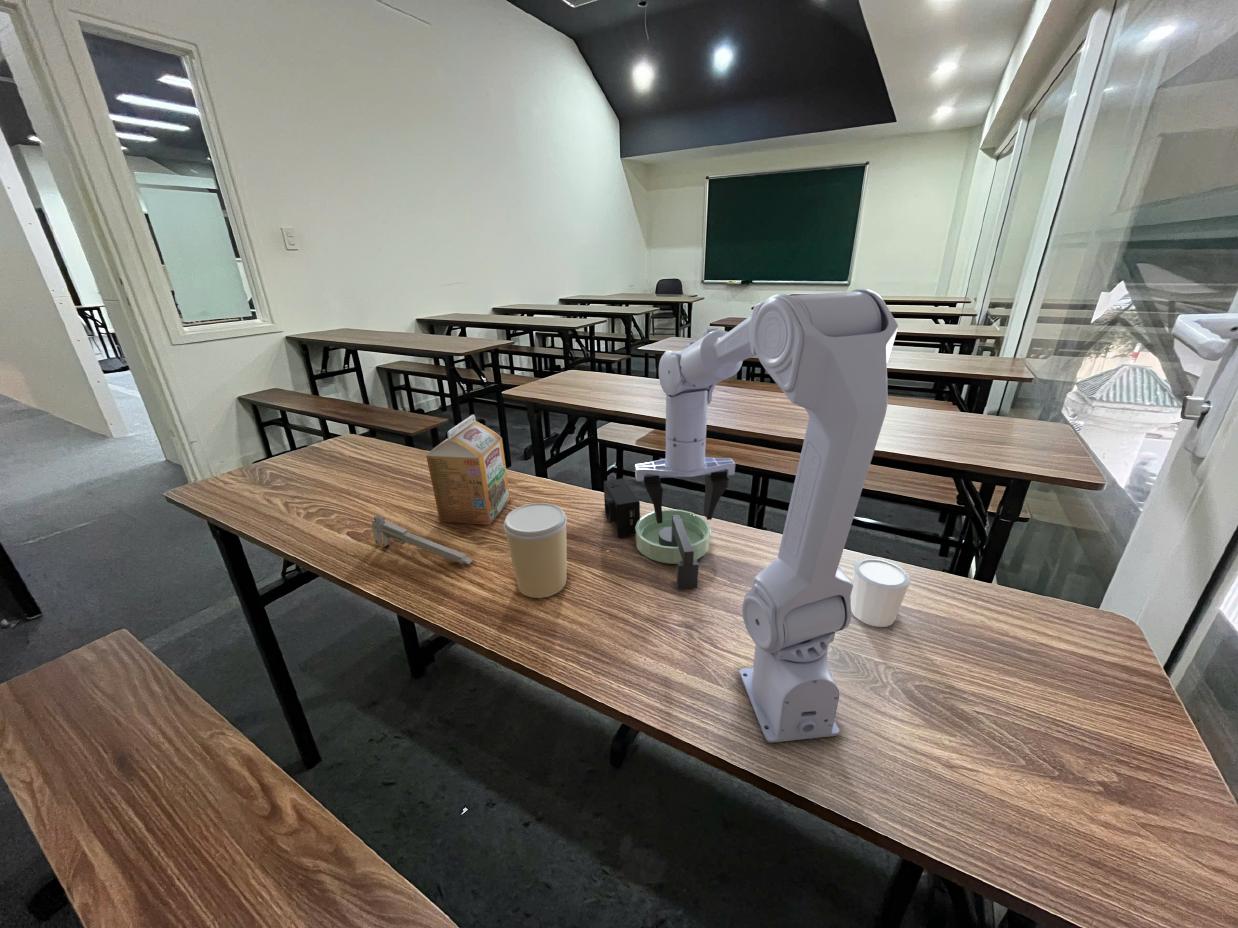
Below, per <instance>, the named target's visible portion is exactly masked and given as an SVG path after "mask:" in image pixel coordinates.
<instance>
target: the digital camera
mask: <svg viewBox="0 0 1238 928" xmlns="http://www.w3.org/2000/svg"><path fill="white" fill-rule="evenodd" d="M603 494H604V495H603V499H604V500H603V501H604V513H605V517H606V520H607V522H608V523H609V524H610V525H611V527H612V530H613V531H614V532H615V535H616V537H617V539H618V538H619V539H620V538H625V537H632V536H635V526H636V524H637V521H638V520H639V519H640V518H641V501H640V500H639V498H638V496H637V495H636V494H635V492H634V491H633V489H632V488H631V486H630V484H629V483H628V482H627V481H626V479H625V478H616V479H609V480H603Z"/></svg>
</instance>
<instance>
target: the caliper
mask: <svg viewBox="0 0 1238 928" xmlns="http://www.w3.org/2000/svg"><path fill="white" fill-rule="evenodd" d="M371 529H372V530H371V531H372V534H373V539H374V541H375V544H377V545H380V544H381V543H382V545H383V548H386V547H387V546H388V545H390V544H391V541H392V540H393V541H394V542H395V543H400V544H401V545H405V544H406V543H407V544H410V545H412V546H415V547H416V548H417V547H418V548H420V549H423V550H425V551H427V552H430V553H432V554H435V555H437V556H440V557H442V558H445V559H447V560H450V561H451V562H455V563H457V564H460V565H463V564H466V565H469V564H471V563H472V562H473V560H472V559H471V558H470V557H468V556H466V553H462V552H460V551H457V550H455V549H452V548H450V547H447V546H445V545H442V544H439V543H437V542H435V541H432V540H430V539H427V538H425V537H421V536H419V535H416V534H414V533H411V532H409V531H408V529H406V528H403V527H401V526H398V525H396V524H394V523H391V522H389V521H386V522H385V516H382V517H381V515H380V513H378V514H376V515H374V517H373V520H371Z"/></svg>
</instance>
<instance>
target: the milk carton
mask: <svg viewBox="0 0 1238 928" xmlns="http://www.w3.org/2000/svg"><path fill="white" fill-rule="evenodd" d="M446 433H447V438H446V439H445V440H443V441H442V442H440V443H439V444H438V445H436V446H435V447H433V448H432V449H431V450H430V451H429V452H428V453H427V454H426V456H425V458H426V462H427V467H428V472H429V476H430V481H431V486H432V490H433V491H432V492H433V495H434V496H433V497H434V500H435V506H436V510H437V515H438V521H439V522H442V523H461V524H472V525H485V526H486V525H487V526H490V525H491V524H492V523H493V521H495V519H496V518H497V517H498V515H499V514H500V513H501V512H502V510H504V508H505V507H506V506H507V504H508V503H509V502H510V501H511V495H510V487H509V481H508V480H509V479H508V473H507V466H506V459H505V451H504V443H503V438H502V437H501V436H500V435H499V434H498V433H497V432H495V431H494V430H493V429H490V428H489V427H488V426H486V425H484V424H483V423H480V422H479V421H478V420H476V415H475V414H471V415H470V416H468V417H466V418H465V419H464V420H462V421H461V422H459V423H458V424H457V425H455V426H454V427H452V428H451V429H449V430H448V431H447V432H446Z"/></svg>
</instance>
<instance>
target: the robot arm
mask: <svg viewBox="0 0 1238 928" xmlns="http://www.w3.org/2000/svg"><path fill="white" fill-rule="evenodd" d="M898 330H899V324H898V322H897V320H896V319H895V317H894V316H893V314H892V312H891V311H890V308H889V307H888V306H887V303H886V302H885V300H884V299H883V298H882V297H881V296H880V294H878V293H877V292H875V291H874V290H872V289H871V290H870V289H867V288H859V289H858V288H856V289H854V290H851V291H841V292H840V291H839V292H825V293H808V294H794V295H791V294H782V293H779V294H773V295H771V296H770V297H768V298H767V299H766V300H764V301H762V302H759V303H756V304H755V305H754V306H753V308H752V313H751V315H750V316H748V317H747V318H746V319H744V320H743V321H741V322H739V324H737V325H736V326H735V327H733V328H732V329H731V330H729V331H728V330H727V331H726V330H724V329H723V330H721V329H719V328H707V329H705V330H703V331H702V337H701V338H699V339H698V340H696V341H690V342H688V343H686V347H685V348H684V349H682V350H680V351H674V350H665V352H664V353H663V354H662V355H661V357H660V359H659V364H658V379H659V383H660V387H661V389H662V391H663V393H665V458H662V459H658V460H653V461H649V462H644V463H643V462H642V463H635V464H634V470H635V471H634V472H635V473H634V476H635V480H636V482H643V484H644V488H645V490H646V492H647V494H648V496H649V498H650V500H651V502H652V506H653V510H654V511H655V517H656V520H657V523H662V510H663V508H662V507H663V506H662V505H663V494H664V487H663V484H662V480H661V479H665V478H692V477H693V478H694V477H698V476H704V500H703V502H704V503H703V514H704V517H705V519H706V521H710V520H712V519H713V515H714V513H715V509H716V507H717V504H718V502H719V501H720V499H721V497H722V495H723V494H724V492H725V491H726V490H727V489H728V487H729V484H730V478H729V477H728V476H735V471H736V462H735V461H734V460H733V458H731V457H728V458H721V457H707V456H706V447H707V446H706V445H707V425H708V423H707V422H708V405H710V404H711V403H712V400H713V392H714V389H715V387H716V386H717V383H719V382H722V381H725V380H727V379H729V378H732V377H733V376H735V375H737V373H738V372H739V371H740V370H741V368H742V365H743V362H744V361H745V360H747V359H751V358H753V357H757V359H758V360H759V363H760V364H761V365H762V366H763V368H764V370H765V371H766V372H767V373H768V375H769V376H770V377H771V378H772V380H773V381H774V382H775V384H776V385H777V386H778V388H780V390H781V391H782V392H783V393H784V395H785V396H786V397H787V399H788V400H789V401H790V402H791V404H793V405H795V406H798V407H801V408H803V409H804V410H805V411H806V413H807V415H808V422H807V425H806V429H805V434H804V439H803V443H802V448H801V452H800V456H799V462H798V466H797V469H796V474H795V478H794V482H793V488H792V492H791V496H790V500H789V505H788V510H787V514H786V518H785V521H784V522H785V523H784V526H783V532H782V536H781V541H780V545H779V549H778V554H777V556H776V558H775V559H774V560H772V562H770V563H769V564H768V565H767V566H765V568H763V569H762V570H761V571H759V573H758V574H756V576H754V578H753V582H752V586H751V588H750V589H749V590H748V591H747V592H746V593H745V595H744V597H743V601H742V606H741V614H742V620H743V623H744V626H745V629H746V632H747V633H748V635H749V637H750V638H751V640H752V641H753V642H754V643H755V646H754V647H755V648H754V657H753V664H752V665H753V666H752V667H745V668H741V669H739V677H740V679H741V682H742V684H743V687H744V690H745V692H746V694H747V697H748V699H749V701H750V704H751V707H752V709H753V711H754V714H755V717H756V718H757V719H756V720H757V721H758V724H759V726H760V729H761V732H762V734H763V736H764V739H765V740H766V742H767V743H771V744H772V743H779V742H780V743H781V742H791V741H801V740H811V739H819V738H827V737H828V738H829V737H836V736H839V735H840V728H839V726H838V725H837V723H836V721H835V719H836V715H837V709H838V705H839V699H840V690H839V686H838V685H837V683H836V681H835V679H834V677H833V675H832V673H831V669H830V667H829V660H828V648H829V646H830V644H832V643H833V642H835V636H836V633H837V632H841V631H844V630H846V629H847V628H848V627H849V625H850V623H851V620H852V612H851V596H852V589H853V584H852V583H853V581H852V580H851V579H850V577H849V576H848V575H847V573H845V571H844V570H843V569H842V568H841V567H839V565H840V562H841V560H842V559H841V558H842V555H843V552H844V549H845V546H846V542H847V540H848V537H849V533H850V530H851V527H852V524H853V520H854V518H855V514H856V511H857V507H858V504H859V501H860V498H861V494H862V491H863V489H864V486H865V485H864V484H865V482H866V479H867V475H868V472H869V469H870V465H871V462H872V459H873V456H874V453H875V450H876V446H877V443H878V440H879V437H880V435H881V434H880V433H881V431H882V427H883V423H884V421H885V418H886V414H887V409H888V363H889V360H890V355H891V352H892V349H893V346H894V343H895V339H896V336H897V332H898Z"/></svg>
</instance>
